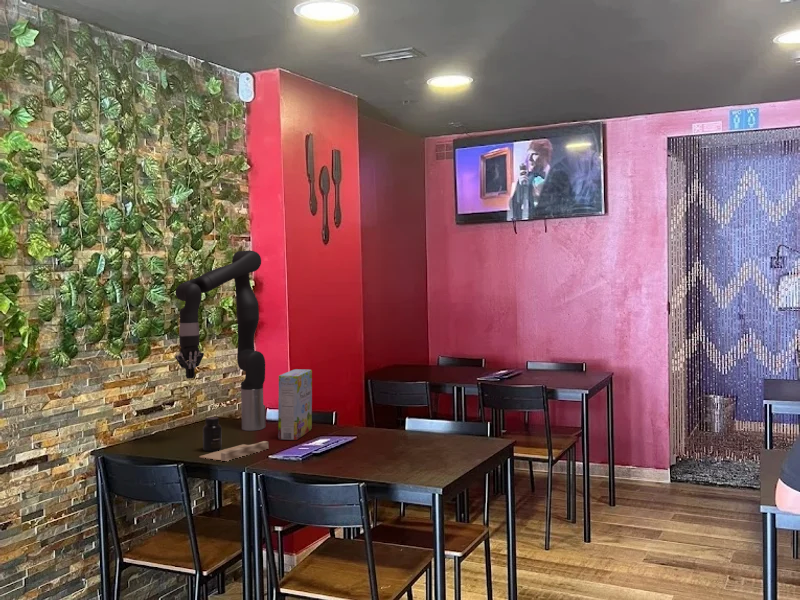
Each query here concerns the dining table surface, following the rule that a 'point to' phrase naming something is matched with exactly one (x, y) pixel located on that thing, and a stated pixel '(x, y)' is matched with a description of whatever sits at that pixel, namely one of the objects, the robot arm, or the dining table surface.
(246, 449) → the rail
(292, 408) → the snack box
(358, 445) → the dining table surface
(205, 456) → the cork mat
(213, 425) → the supplement bottle
